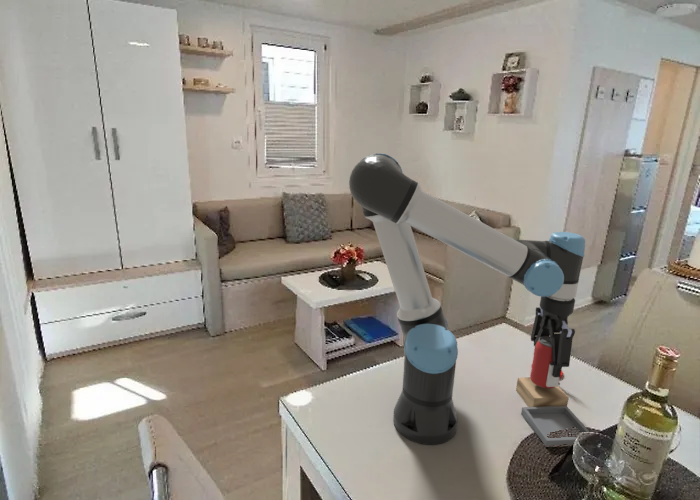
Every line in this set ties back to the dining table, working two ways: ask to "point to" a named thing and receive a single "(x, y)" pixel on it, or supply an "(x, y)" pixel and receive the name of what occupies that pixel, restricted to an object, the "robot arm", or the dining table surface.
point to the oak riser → (540, 394)
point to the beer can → (541, 361)
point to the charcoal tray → (552, 422)
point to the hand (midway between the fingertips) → (544, 377)
